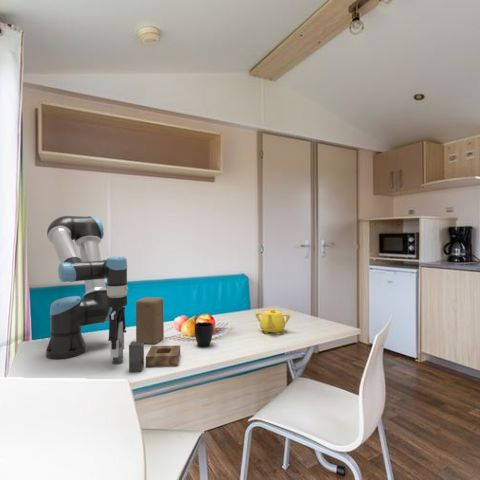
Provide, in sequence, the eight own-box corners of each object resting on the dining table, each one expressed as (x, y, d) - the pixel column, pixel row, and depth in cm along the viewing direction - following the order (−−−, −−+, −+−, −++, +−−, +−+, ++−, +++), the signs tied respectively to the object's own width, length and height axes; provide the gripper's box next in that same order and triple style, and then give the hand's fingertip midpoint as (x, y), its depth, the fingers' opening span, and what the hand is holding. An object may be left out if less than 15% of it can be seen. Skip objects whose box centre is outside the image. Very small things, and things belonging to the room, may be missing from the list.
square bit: (129, 372, 124) (128, 345, 124) (131, 367, 128) (131, 341, 128) (141, 371, 124) (141, 345, 124) (143, 367, 129) (143, 341, 129)
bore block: (145, 367, 129) (145, 356, 129) (151, 355, 141) (151, 346, 140) (177, 365, 130) (177, 355, 130) (180, 354, 142) (180, 345, 141)
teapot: (252, 331, 176) (252, 308, 176) (274, 326, 183) (274, 305, 183) (269, 337, 164) (269, 313, 164) (291, 333, 172) (291, 310, 172)
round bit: (111, 364, 131) (110, 323, 131) (114, 360, 135) (113, 321, 135) (121, 364, 132) (121, 323, 131) (124, 360, 136) (123, 320, 135)
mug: (207, 339, 162) (207, 319, 162) (215, 346, 151) (215, 325, 151) (190, 341, 159) (190, 321, 159) (197, 349, 148) (197, 327, 148)
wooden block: (155, 344, 154) (154, 301, 154) (135, 343, 156) (134, 300, 156) (164, 338, 164) (164, 297, 164) (145, 337, 166) (145, 296, 166)
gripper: (119, 300, 123) (120, 362, 123) (132, 291, 144) (133, 344, 144) (98, 301, 122) (99, 363, 123) (114, 291, 143) (115, 344, 143)
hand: (117, 352), depth 133 cm, fingers open, 8 cm apart
